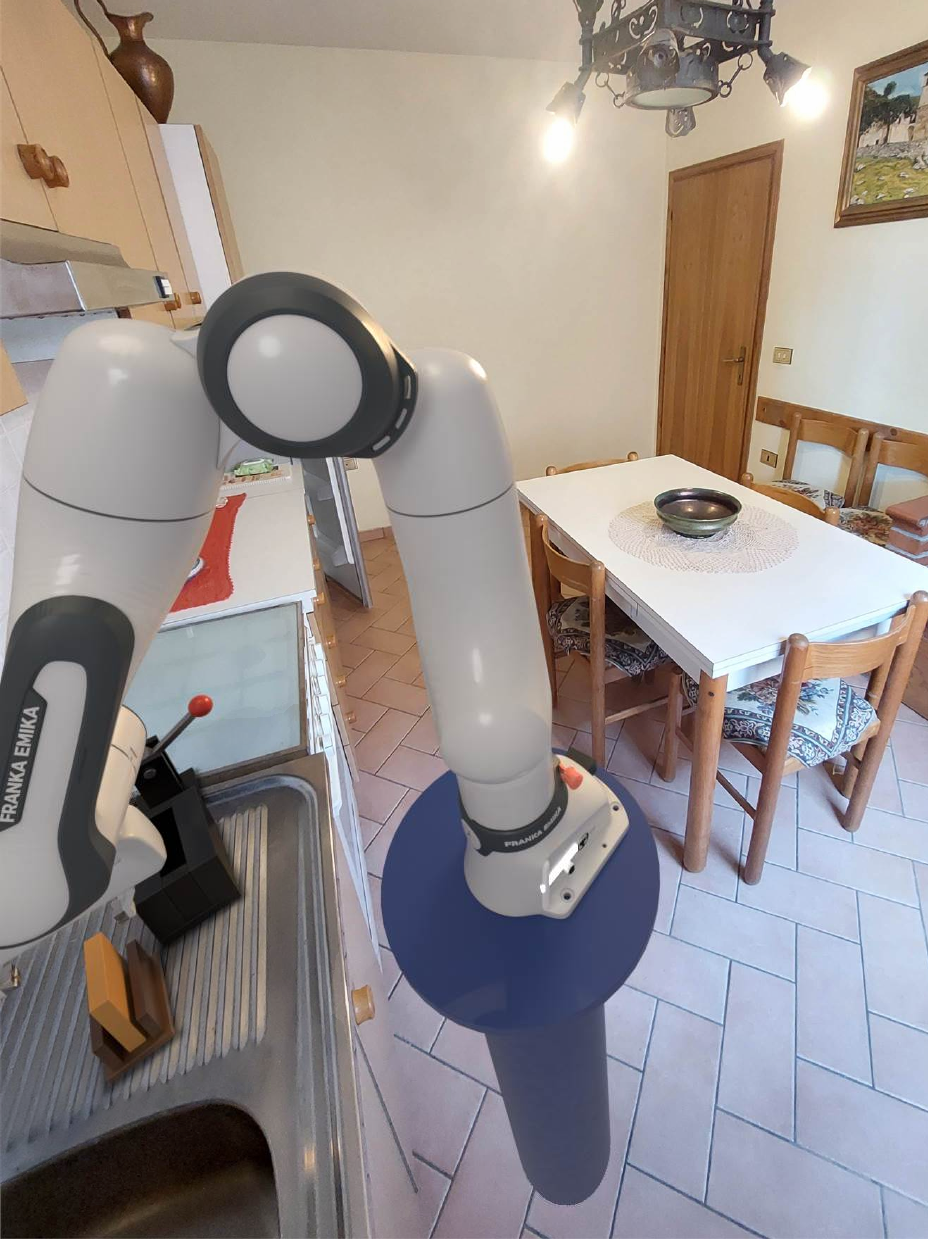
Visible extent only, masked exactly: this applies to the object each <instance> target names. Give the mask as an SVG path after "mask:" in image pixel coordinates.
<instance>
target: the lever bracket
mask: <svg viewBox="0 0 928 1239" xmlns="http://www.w3.org/2000/svg"><path fill="white" fill-rule="evenodd" d="M160 741H161V739H159V737H158V735H157V734H154V735H152V736H150V737H147V741H146V744H145V747H149V748H152V749H153V748H154V747H155V746H156V745H157V744H158V743H159V742H160ZM192 786H195V787H196V789H197V791H198V793H199V794H200V796H201V798H202V800H203V801H204V802H205V796H204V794H203V791H202V788H201V785H200V782H199V780H198V776H197V774H196V771H195V769H194V767H193V766H191V767H189V768H187V769H185V770H184V771H182V772H180V773H179V771H178V770H177V767H176V766H175V763H173V761H172V759H171V757H170V756H169V754H168V753H167V751H166V749H165V750H164V751H163V752H161V751H159V752H157V753H155V754H153V755H151V756H149V757H147V758H145V759H143V760H141V764H140V767H139V771H138V774H137V778H136V781H135V784H134V788H136V790H137V792H138V793H139V794H138V795H137V796H135V803H136V808H137V809H138V810H139V811H140V812H142V813H145V812H147V811H149V810H151V809H153V808H154V807H156V806H158V805H160V804H162V803H163V802H165V801H167V800H170V799H171V798H172V797H174V796H176V795H178V794H180V793H182V792H183V791H185V790H187V789H189V788H191V787H192Z"/></svg>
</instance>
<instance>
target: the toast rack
mask: <svg viewBox="0 0 928 1239" xmlns="http://www.w3.org/2000/svg"><path fill="white" fill-rule="evenodd" d="M125 953H126V961H127V963H128V967H129V974H130V981H131V988H132V995H133V1001H134V1008H135V1015H136V1020H137V1021H138V1023H139V1024H140V1025H141V1026H142V1027H143V1028H144V1029H145V1031H146V1037H147V1040H146V1041H145V1042H143V1043H142V1044H141V1045H139V1046H138V1047H137V1048H135V1049H134V1050H133V1051H131V1052H129V1051H128V1050H127V1049H126V1048H125V1047H124V1046H123V1045H122V1044H121V1043H120V1042H119V1041H118V1040H117V1039H116V1038H115V1037H114V1036H113V1035H111V1034H110V1033H109V1032H108V1031H107V1030H106V1029H105V1028H104V1027H103V1026H102V1025H101V1024H100V1023H99V1022H98V1021H97V1020H96V1019H95V1018H94V1017H93V1016H92V1015H91V1014H90V1013H89V1012H88V1020H89V1032H90V1035H89V1036H90V1046H91V1052H92V1054H93V1055H94V1056H96V1057H97V1058H98V1059H99V1060H100V1061H101V1062H102V1063H103V1064H104V1073H105V1081H106V1082H107V1083H108V1084H109V1085H112V1084H114V1083H115V1082H116V1081H117V1080H119V1079H120V1078H122V1077H123V1076H124V1075H126V1073H128V1072H129V1071H131V1070H132V1069H134V1068H135V1067H136V1066H138V1065H139V1064H140V1063H141V1062H142V1061H144V1060H145V1059H146V1058H148V1057H150V1056H151V1055H152V1054H153V1053H154V1052H156V1051H158V1050H159V1049H160V1048H161V1047H162V1046H164V1045H165V1044H167V1043H168V1042H169V1041H171V1040H172V1039H173V1038H175V1037H176V1032H175V1027H174V1026H175V1025H174V1021H173V1015H172V1010H171V1006H170V1001H169V1000H170V999H169V995H168V990H167V985H166V980H165V974H164V970H163V964H162V959H161V955H160V954H159V952H158V951H155V952H153V953H152V954H151V955H149V953H148V952H147V951H146V950H145V949H144V948H143V946H142V945H141V944H140V943H139V941H138V940H137V938H134V939H132V940H131V941H130V942H128V943H127V944H125ZM84 973H85V975H86V970H85V972H84ZM85 983H86V984H85V985H86V987H87V979H86V978H85ZM86 997H87V999H88V991H87V990H86ZM87 1007H88V1008H87V1010H88V1011H89V1003H88V1002H87Z"/></svg>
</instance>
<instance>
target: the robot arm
mask: <svg viewBox="0 0 928 1239" xmlns="http://www.w3.org/2000/svg"><path fill="white" fill-rule="evenodd" d="M27 436H28V437H27V441H26V445H25V450H24V457H23V462H22V469H21V476H20V482H19V490H18V491H19V492H18V500H17V501H18V502H17V503H18V504H17V512H16V520H15V521H16V522H15V523H16V524H15V533H14V548H13V549H14V550H13V564H12V566H13V567H12V580H11V590H10V600H9V606H8V607H9V609H8V616H7V623H6V624H7V625H6V637H5V647H4V648H5V649H4V660H3V661H4V662H3V665H2V672H1V677H0V967H2V966H3V965H5V964H7V963H8V962H10V961H11V960H13V959H15V958H17V957H19V956H20V955H21V954H23V953H25V952H27V951H28V950H30V949H32V948H33V947H35V946H37V945H38V944H40V943H41V942H43V941H45V940H46V939H48V938H50V937H52V936H53V935H55V934H56V933H58V932H60V931H62V930H63V929H65V928H66V927H68V926H70V925H71V924H74V923H75V922H76V921H78V920H80V919H82V918H84V917H85V916H86V915H88V914H90V913H92V912H93V911H95V910H97V909H98V908H100V907H101V906H104V905H105V904H106V903H108V902H110V901H112V902H110V907H111V909H112V911H111V914H112V918H113V920H114V921H116V922H117V924H118V925H119V926H120V925H122V924H124V923H125V922H127V921H129V920H130V919H132V918H134V917H135V916H137V913H136V909H135V904H134V902H133V897H134V894H135V887H134V886H135V885H137V884H138V883H140V882H142V881H143V880H145V879H147V878H148V877H150V876H152V875H154V874H155V873H157V872H158V871H160V870H161V869H162V867H163V865H164V863H165V861H166V857H167V855H166V850H165V846H164V842H163V839H162V837H161V835H160V833H159V832H158V830H157V829H156V828H155V826H154V825H153V824H152V823H151V822H150V820H149V819H148V818H147V817H146V816H145V815H144V814H143V813H142V812H140V811H139V810H138V807H136V806H134V805H132V804H130V801H131V797H132V795H133V790H134V788H135V785H134V784H135V781H136V778H137V774H138V771H139V767H140V764H141V760H142V756H143V753H144V749H145V744H146V741H147V739H148V731H147V726H146V725H145V723H144V721H143V720H142V719H141V717H140V716H139V714H137V713H136V712H135V711H134V710H133V709H131V708H130V707H129V706H128V705H125V704H124V701H125V698H126V696H127V693H128V691H129V689H130V686H131V684H132V682H133V680H134V678H135V676H136V674H137V672H138V670H139V668H140V666H141V664H142V662H143V661H144V659H145V657H146V655H147V652H148V651H149V649H150V648H151V645H152V644H153V642H154V640H155V638H156V637H157V635H158V633H159V631H160V629H161V628H162V626H163V624H164V622H165V620H166V618H167V617H168V615H169V613H170V611H171V610H172V607H173V606H174V604H175V602H176V600H177V598H178V597H179V595H180V593H181V592H182V589H183V588H184V586H185V584H186V582H187V580H188V578H189V576H190V574H191V572H192V571H193V569H194V566H195V564H196V562H197V560H198V558H199V555H200V553H201V551H202V549H203V546H204V543H205V542H206V538H207V536H208V534H209V531H210V528H211V525H212V522H213V519H214V515H215V511H216V509H217V504H218V500H219V496H220V491H221V488H222V483H223V479H224V475H225V473H226V472H225V471H226V469H227V465H228V462H229V461H230V460H229V459H230V458H231V455H232V453H233V451H234V450H235V448H236V447H237V446H238V445H239V443H241V442H242V441H244V442H245V443H247V444H248V445H250V446H252V447H253V448H256V449H258V450H260V451H262V452H265V453H267V454H271V455H273V456H279V457H283V458H289V459H299V460H301V459H302V460H318V459H329V458H346V459H366V460H369V459H370V460H371V461H372V464H373V467H374V470H375V473H376V476H377V480H378V483H379V486H380V491H381V494H382V498H383V502H384V505H385V508H386V511H387V516H388V519H389V522H390V526H391V530H392V535H393V537H394V541H395V544H396V548H397V551H398V555H399V559H400V562H401V565H402V568H403V569H402V570H403V573H404V577H405V581H406V585H407V590H408V596H409V601H410V602H409V603H410V608H411V609H410V610H411V615H412V620H413V628H414V632H415V638H416V643H417V649H418V655H419V659H420V660H419V661H420V665H421V670H422V675H423V680H424V684H425V689H426V694H427V698H428V699H427V700H428V703H429V707H430V711H431V717H432V720H433V721H432V723H433V728H434V733H435V737H436V740H437V741H436V742H437V745H438V748H439V752H440V756H441V759H442V761H443V762H444V764H445V765H446V767H447V768H448V770H451V771H452V772H454V773H455V774H456V776H457V781H458V785H459V789H458V801H459V807H460V813H461V817H462V819H461V821H462V825H463V828H464V832H465V834H466V837H467V847H466V852H465V857H464V873H465V878H466V881H467V884H468V886H469V888H470V890H471V892H472V894H473V895H474V896H475V898H476V899H477V900H478V901H479V902H480V903H481V904H482V905H484V906H485V907H486V908H488V909H489V910H491V911H493V912H496V913H498V914H501V915H505V916H513V917H521V916H529V915H536V914H542V915H545V916H548V917H551V918H555V919H565V918H567V917H569V916H570V914H571V913H572V912H573V910H574V909H575V907H576V906H577V904H578V903H579V901H580V900H581V898H582V897H583V896H584V894H585V893H586V891H587V890H588V888H589V887H590V885H591V884H592V882H593V881H594V879H595V878H596V877H597V875H598V874H599V872H600V871H601V869H602V868H603V866H604V865H605V863H606V862H607V860H608V859H609V858H610V856H611V855H612V853H613V852H614V850H615V849H616V847H617V846H618V844H619V843H620V841H621V840H622V839H623V837H624V836H625V834H626V833H627V831H628V829H629V821H628V817H627V814H626V811H625V809H624V807H623V806H622V804H621V802H620V801H619V800H618V798H617V797H616V796H615V794H614V793H613V792H612V791H611V790H610V789H609V788H608V787H607V786H606V785H605V784H604V783H603V782H602V781H600V780H599V779H598V778H597V777H595V776H594V774H595V772H596V771H597V764H598V763H597V759H596V758H595V757H592V756H590V755H589V754H586V753H585V752H583V751H581V750H579V749H577V748H576V747H573V746H570V748H568V750H566V751H567V753H566V754H565V755H564V756H562V755H555V754H554V753H552V749H551V747H552V734H553V733H552V732H553V731H552V730H553V697H552V696H553V694H552V688H551V682H550V676H549V672H548V671H549V670H548V665H547V664H548V663H547V659H546V658H547V657H546V652H545V647H544V641H543V635H542V630H541V625H540V624H541V623H540V618H539V614H538V613H539V612H538V607H537V602H536V596H535V591H534V586H533V581H532V574H531V569H530V563H529V558H528V553H527V546H526V539H525V532H524V526H523V520H522V512H521V506H520V501H519V495H518V488H517V481H516V474H515V468H514V462H513V457H512V452H511V448H510V443H509V439H508V434H507V431H506V427H505V424H504V420H503V417H502V414H501V411H500V407H499V405H498V401H497V399H496V396H495V394H494V390H493V388H492V386H491V382H490V379H489V377H488V375H487V373H486V371H485V369H484V368H483V367H482V365H481V364H480V363H479V362H478V361H477V360H476V359H474V358H473V357H472V356H470V355H468V354H466V353H464V352H462V351H459V350H456V349H452V348H448V347H444V346H443V347H441V346H425V347H418V348H414V349H409V350H408V349H405V348H399V347H398V346H397V344H396V343H395V342H394V341H393V340H392V339H391V338H390V337H389V335H388V334H387V333H386V332H385V331H384V330H383V328H382V327H381V325H380V324H379V323H378V322H377V321H376V320H375V319H374V317H373V316H372V315H371V313H370V312H369V310H368V309H367V308H366V306H364V304H363V303H362V302H361V301H360V299H359V298H358V297H357V296H356V295H355V294H354V293H353V292H352V291H351V290H350V289H348V288H347V287H346V286H345V285H344V284H342V283H341V282H339V281H337V280H336V279H335V278H332V276H331V277H330V276H329V275H327V274H325V273H323V272H320V271H317V270H315V269H312V268H308V267H303V266H297V265H289V264H288V265H273V266H267V267H263V268H260V269H257V270H254V271H252V272H249V273H247V274H245V275H244V276H242V277H241V278H239V279H238V280H237V281H235V282H234V283H232V284H231V285H230V286H229V287H228V288H227V289H226V290H224V291H223V292H222V293H221V294H220V295H219V296H218V297H217V298H216V300H215V301H214V302H213V303H212V304H211V305H210V307H209V308H208V310H207V311H206V314H205V315H204V318H203V320H202V322H201V325H200V327H199V328H198V329H195V330H181V329H175V328H172V327H168V326H165V325H162V324H158V323H156V322H151V321H148V320H142V319H135V318H121V317H120V318H119V317H117V318H105V319H97V320H92V321H88V322H85V323H84V324H81V325H79V326H77V327H76V328H75V329H72V331H70V332H69V333H68V334H67V335H66V336H65V337H64V338H63V340H62V342H61V344H60V345H59V348H58V350H57V352H56V355H55V357H54V359H53V362H52V364H51V366H50V368H49V370H48V372H47V375H46V378H45V380H44V383H43V385H42V389H41V391H40V394H39V397H38V400H37V403H36V406H35V410H34V412H33V416H32V420H31V424H30V428H29V432H28V435H27ZM613 809H618V811H614V810H613ZM565 896H570V897H571V898H570V899H569V900H565V899H564V897H565ZM115 898H116V899H115ZM113 899H114V901H113ZM21 979H22V975H21V971H20V970H19V969H18V968H16V966H15V965H14V964H13V963H12V962H11V963H8V964H7V965H5V966H4V967H2V968H0V1000H2V999H3V998H5V997H7V996H8V995H10V994H11V993H13V992H14V991H16V990H17V989H19V988H20V987H22V985H21V984H22V982H21V981H20V980H21Z"/></svg>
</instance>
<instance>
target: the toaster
mask: <svg viewBox="0 0 928 1239" xmlns="http://www.w3.org/2000/svg"><path fill="white" fill-rule="evenodd" d="M143 814H144V815H145V816H146V817H147V818H148V819H149V820H150V822H151V823H152V824H153V825H154V826H155V828H156V829H157V830H158V832H159V833H160V835H161V837H162V839H163V842H164V846H165V850H166V855H167V857H166V861H165V863H164V865H163V867H162V869H161V870H160V871H158V872H157V873H155V874H154V875H152V876H150V877H148V878H147V879H145V880H143V881H142V882H140V883H138V884H137V885H135V886H134V887H135V894H134V897H133V902H134V904H135V909H136V915H137V916H138V917H139V918H140V920H141V921H142V922H143V923H144V925H145V926H146V927H147V928H148V930H149V931H150V932H151V933H152V935H153V936H154V937H155V938H156V940H157V941H158V942H159V944H160V945H161V946H162V948H163V949H166V948H167V947H169V946H170V945H171V944H173V943H175V942H176V941H177V940H179V939H180V938H181V937H183V936H185V935H186V934H188V933H189V932H190V931H192V930H194V929H195V928H197V927H198V926H199V925H201V924H202V923H204V922H205V921H207V920H208V919H210V918H212V917H213V916H214V915H216V914H217V913H219V912H220V911H222V910H223V909H225V908H226V907H228V906H229V905H230V904H232V903H233V902H235V901H237V900H238V899H240V898H241V897H242V893H241V890H240V887H239V884H238V881H237V878H236V876H235V872H234V869H233V866H232V864H231V861H230V858H229V855H228V852H227V849H226V846H225V844H224V840H223V837H222V835H221V834H222V833H221V832H220V828H219V825H218V823H217V822H216V821H215V819H214V817H213V815H212V813H211V811H210V810H209V808H208V806H207V805H206V803H205V800H204V801H203V800H202V798H201V796H200V794H199V793H198V791H197V789H196V787H195V786H192V787H191V788H189V789H187V790H185V791H183V792H182V793H180V794H178V795H176V796H174V797H172V798H171V799H170V800H167V801H165V802H163V803H162V804H160V805H158V806H156V807H154V808H153V809H151V810H149V811H147V812H145V813H143Z"/></svg>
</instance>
